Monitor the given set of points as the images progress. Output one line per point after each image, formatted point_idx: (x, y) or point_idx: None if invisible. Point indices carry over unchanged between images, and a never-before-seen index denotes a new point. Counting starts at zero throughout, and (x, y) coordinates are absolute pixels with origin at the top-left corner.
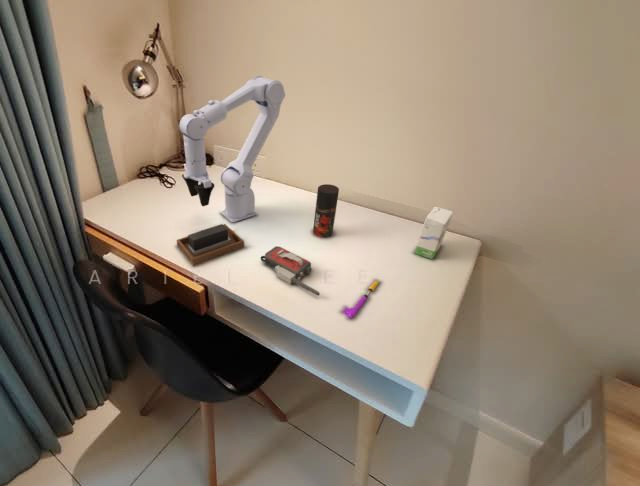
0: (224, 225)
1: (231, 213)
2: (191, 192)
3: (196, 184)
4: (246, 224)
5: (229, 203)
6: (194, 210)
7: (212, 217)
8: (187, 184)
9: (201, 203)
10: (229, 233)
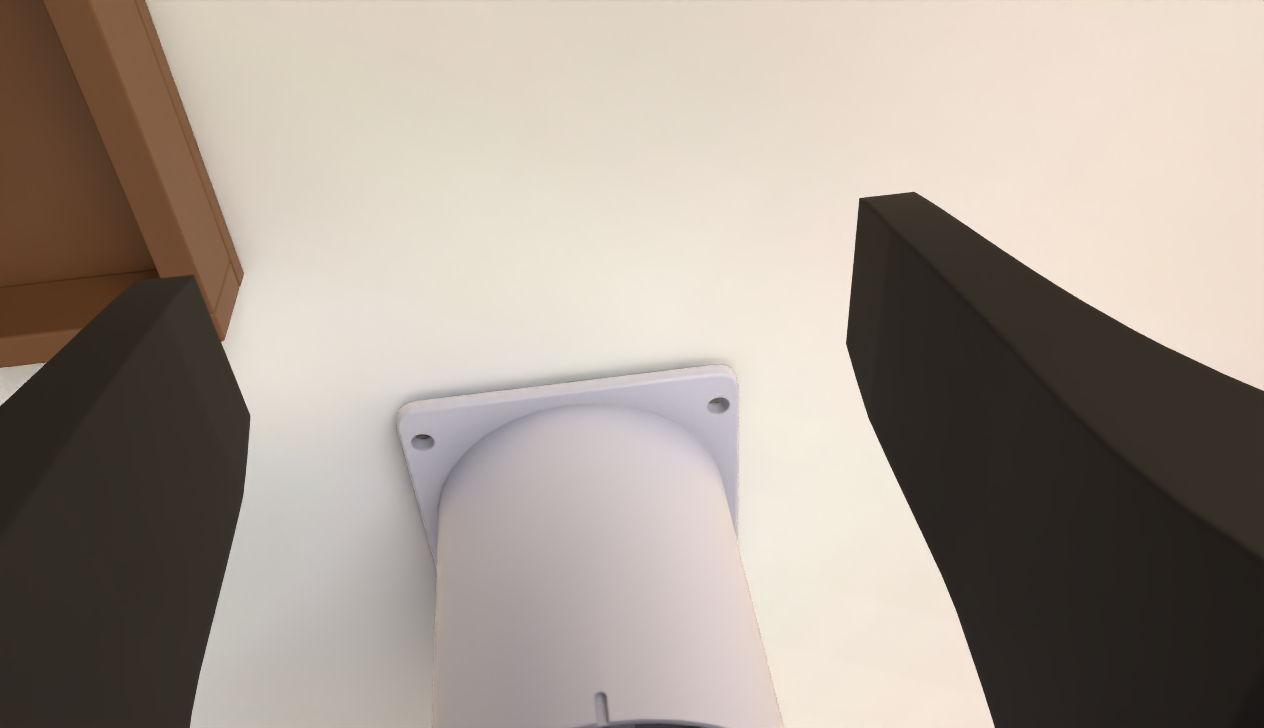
0: None
1: (488, 491)
2: (903, 275)
3: (972, 580)
4: (302, 516)
5: (517, 611)
6: (1066, 52)
7: (686, 228)
8: (1106, 393)
9: (85, 326)
10: (18, 300)
